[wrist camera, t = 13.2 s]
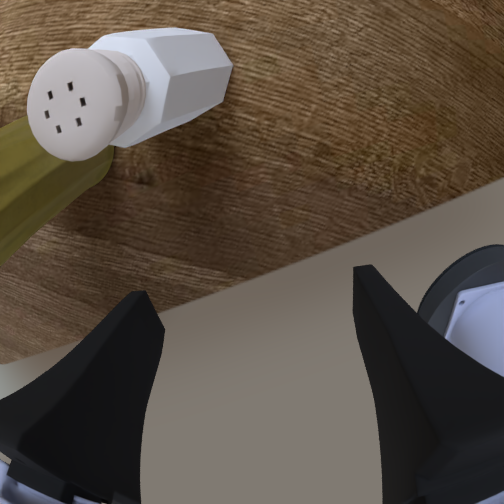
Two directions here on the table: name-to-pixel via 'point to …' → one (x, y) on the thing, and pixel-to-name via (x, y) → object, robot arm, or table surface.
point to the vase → (38, 184)
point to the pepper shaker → (125, 90)
